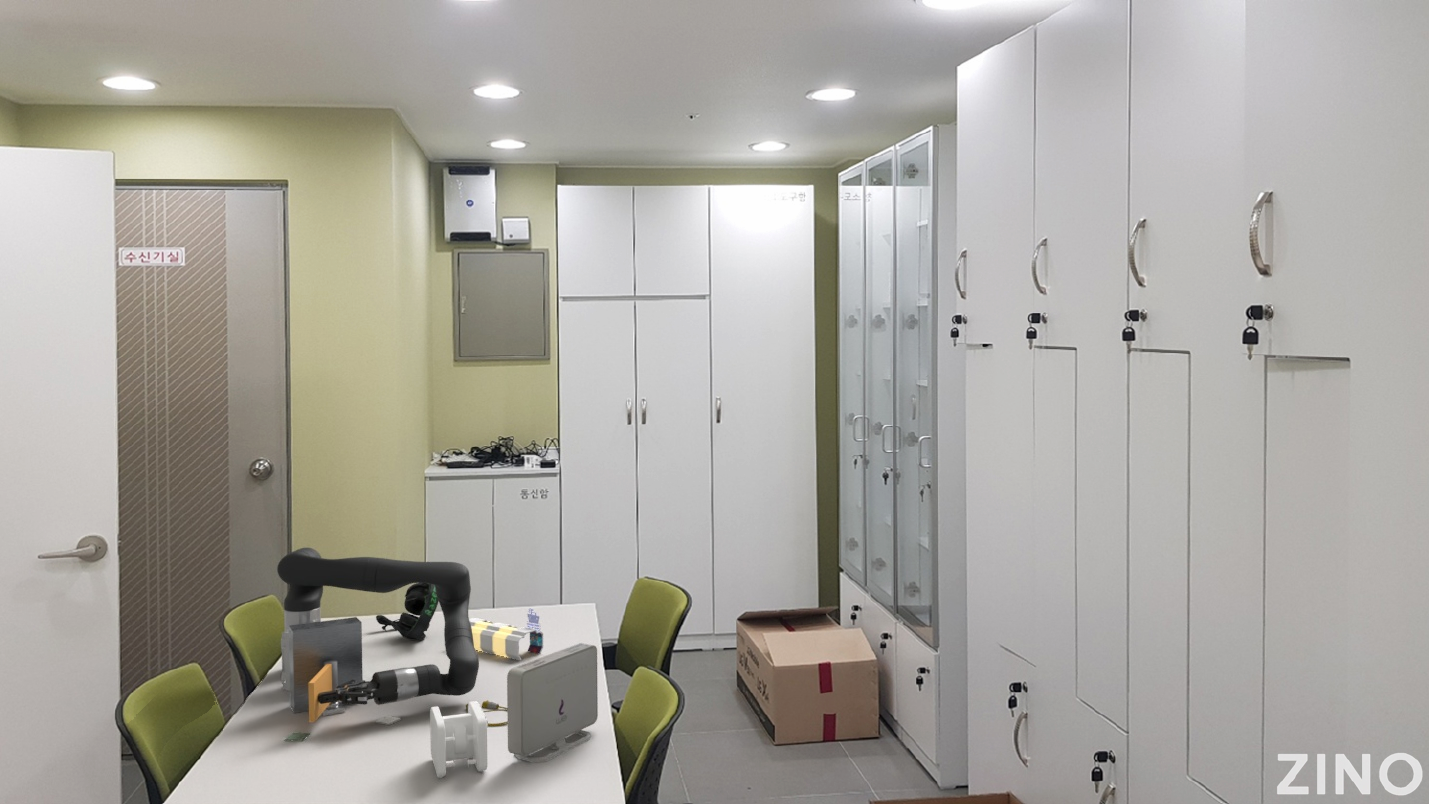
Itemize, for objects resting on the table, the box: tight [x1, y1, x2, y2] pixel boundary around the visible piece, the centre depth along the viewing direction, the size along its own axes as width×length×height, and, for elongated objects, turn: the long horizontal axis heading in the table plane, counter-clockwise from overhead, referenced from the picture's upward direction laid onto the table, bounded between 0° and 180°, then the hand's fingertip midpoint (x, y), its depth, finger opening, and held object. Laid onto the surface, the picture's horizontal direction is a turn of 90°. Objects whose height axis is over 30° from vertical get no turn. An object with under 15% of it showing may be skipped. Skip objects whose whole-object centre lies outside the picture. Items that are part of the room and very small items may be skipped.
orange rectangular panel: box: [308, 660, 338, 723], centre depth 243 cm, size 18×3×10 cm, turn 5°
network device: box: [506, 642, 599, 763], centre depth 228 cm, size 26×9×20 cm, turn 148°
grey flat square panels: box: [284, 616, 402, 742], centre depth 247 cm, size 26×26×20 cm
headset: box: [375, 583, 439, 641], centre depth 316 cm, size 18×14×29 cm
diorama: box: [469, 608, 544, 662], centre depth 302 cm, size 25×10×13 cm, turn 57°
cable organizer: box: [429, 700, 489, 779], centre depth 217 cm, size 15×11×12 cm
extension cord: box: [465, 700, 508, 727], centre depth 248 cm, size 12×16×2 cm
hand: (319, 698), depth 237 cm, fingers closed
